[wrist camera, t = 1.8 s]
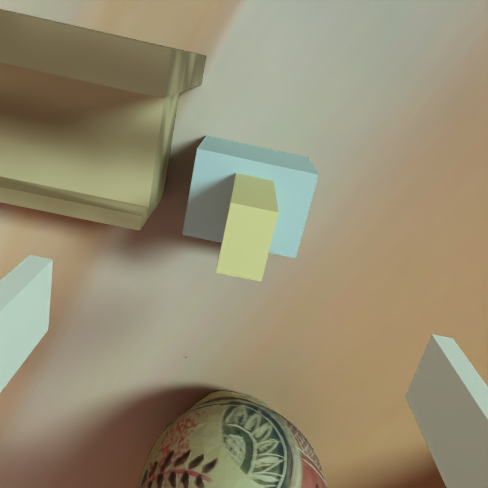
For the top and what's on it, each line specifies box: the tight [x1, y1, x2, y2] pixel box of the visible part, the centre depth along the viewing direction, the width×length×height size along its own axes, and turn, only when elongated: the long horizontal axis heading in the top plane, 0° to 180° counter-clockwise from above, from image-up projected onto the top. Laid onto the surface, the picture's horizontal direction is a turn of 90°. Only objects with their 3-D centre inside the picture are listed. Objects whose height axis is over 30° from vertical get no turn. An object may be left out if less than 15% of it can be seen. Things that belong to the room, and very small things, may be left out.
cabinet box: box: [182, 135, 318, 281], centre depth 30 cm, size 6×8×13 cm
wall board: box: [0, 9, 206, 231], centre depth 28 cm, size 11×14×15 cm
